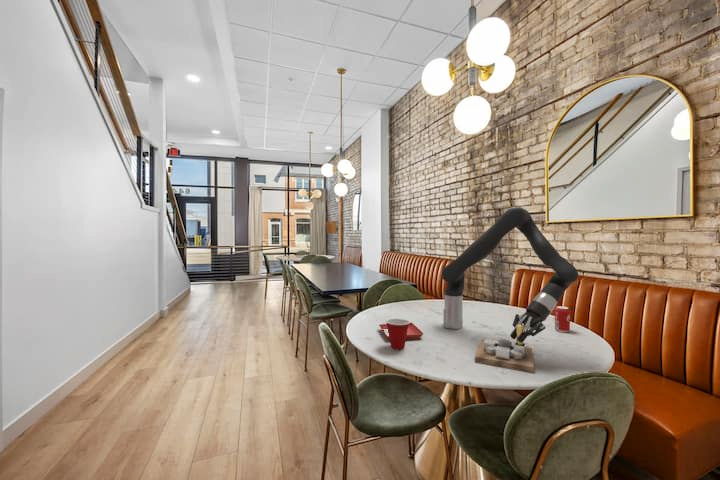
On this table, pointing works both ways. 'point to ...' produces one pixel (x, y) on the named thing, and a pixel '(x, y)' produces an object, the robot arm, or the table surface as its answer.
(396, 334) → the plastic cup
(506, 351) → the ring nut
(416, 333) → the plant saucer
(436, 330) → the table surface
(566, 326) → the beverage can
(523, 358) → the walnut base
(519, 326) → the brass pin
